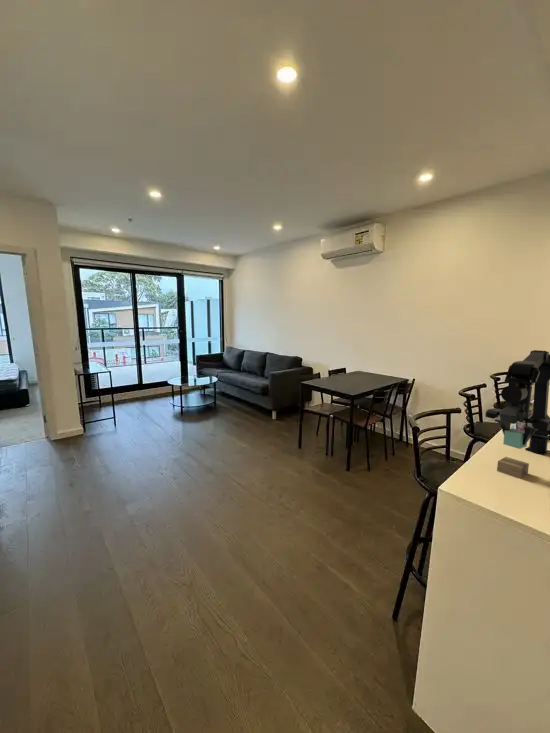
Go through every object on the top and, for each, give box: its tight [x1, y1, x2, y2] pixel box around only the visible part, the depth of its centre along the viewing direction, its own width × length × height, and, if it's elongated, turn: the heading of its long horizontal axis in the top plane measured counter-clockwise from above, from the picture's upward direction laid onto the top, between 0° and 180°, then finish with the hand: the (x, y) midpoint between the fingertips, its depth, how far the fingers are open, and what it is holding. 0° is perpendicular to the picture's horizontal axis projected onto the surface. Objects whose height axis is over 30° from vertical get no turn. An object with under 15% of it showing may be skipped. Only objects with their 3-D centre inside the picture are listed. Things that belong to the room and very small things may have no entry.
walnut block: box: [496, 456, 530, 480], centre depth 113 cm, size 7×7×4 cm
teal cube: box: [502, 428, 528, 450], centre depth 112 cm, size 5×5×5 cm
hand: (515, 442), depth 112 cm, fingers closed on teal cube, 5 cm apart
